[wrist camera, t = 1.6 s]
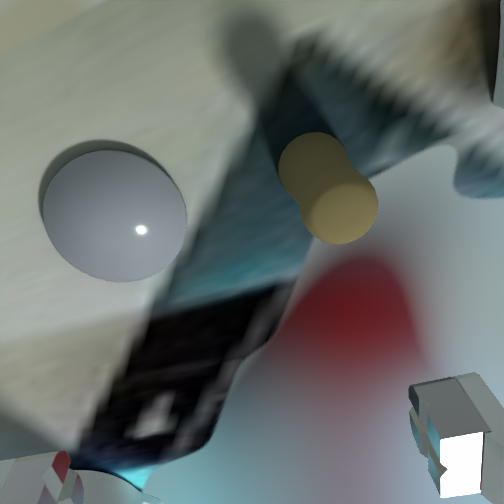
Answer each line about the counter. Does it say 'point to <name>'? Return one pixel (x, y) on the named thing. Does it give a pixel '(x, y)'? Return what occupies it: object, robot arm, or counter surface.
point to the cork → (327, 188)
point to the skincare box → (500, 65)
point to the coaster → (115, 215)
